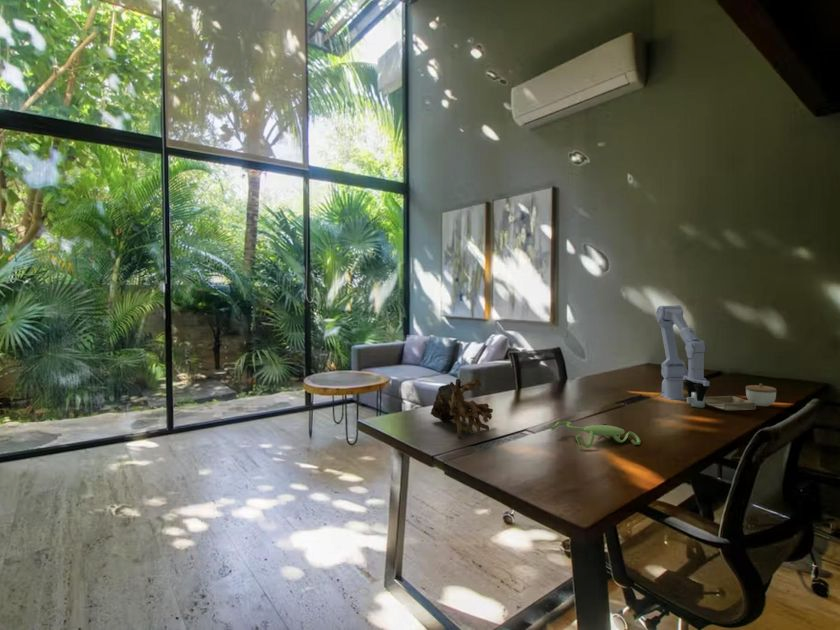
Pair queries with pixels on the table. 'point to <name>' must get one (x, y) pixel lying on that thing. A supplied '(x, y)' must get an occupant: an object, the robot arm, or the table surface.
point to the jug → (695, 401)
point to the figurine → (599, 432)
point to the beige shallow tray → (730, 403)
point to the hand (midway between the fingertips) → (696, 399)
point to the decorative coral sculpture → (460, 406)
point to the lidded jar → (761, 394)
